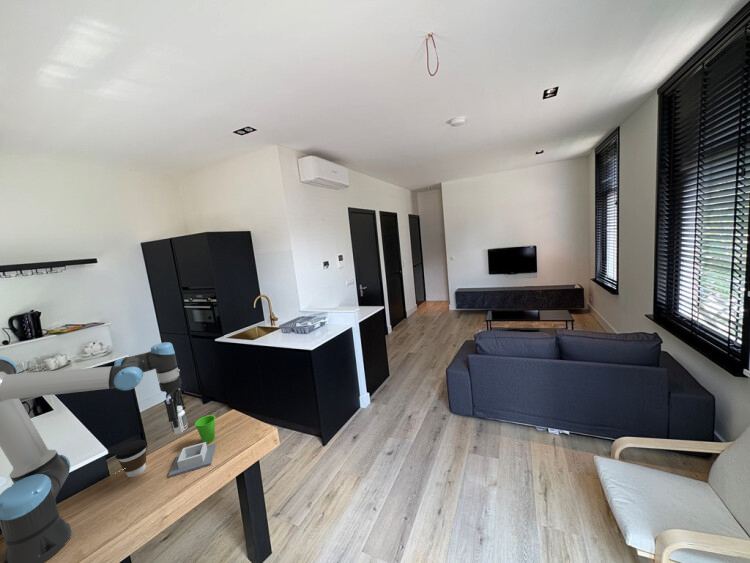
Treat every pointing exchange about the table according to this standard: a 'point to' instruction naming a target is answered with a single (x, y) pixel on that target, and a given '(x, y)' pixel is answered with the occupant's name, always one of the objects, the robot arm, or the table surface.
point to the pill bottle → (181, 418)
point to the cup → (206, 428)
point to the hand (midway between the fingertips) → (180, 428)
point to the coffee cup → (133, 457)
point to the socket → (193, 458)
